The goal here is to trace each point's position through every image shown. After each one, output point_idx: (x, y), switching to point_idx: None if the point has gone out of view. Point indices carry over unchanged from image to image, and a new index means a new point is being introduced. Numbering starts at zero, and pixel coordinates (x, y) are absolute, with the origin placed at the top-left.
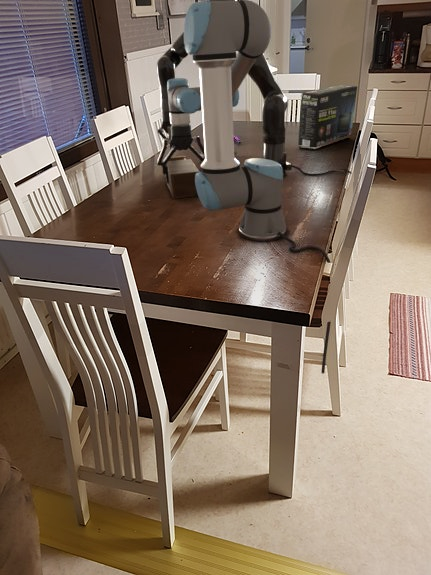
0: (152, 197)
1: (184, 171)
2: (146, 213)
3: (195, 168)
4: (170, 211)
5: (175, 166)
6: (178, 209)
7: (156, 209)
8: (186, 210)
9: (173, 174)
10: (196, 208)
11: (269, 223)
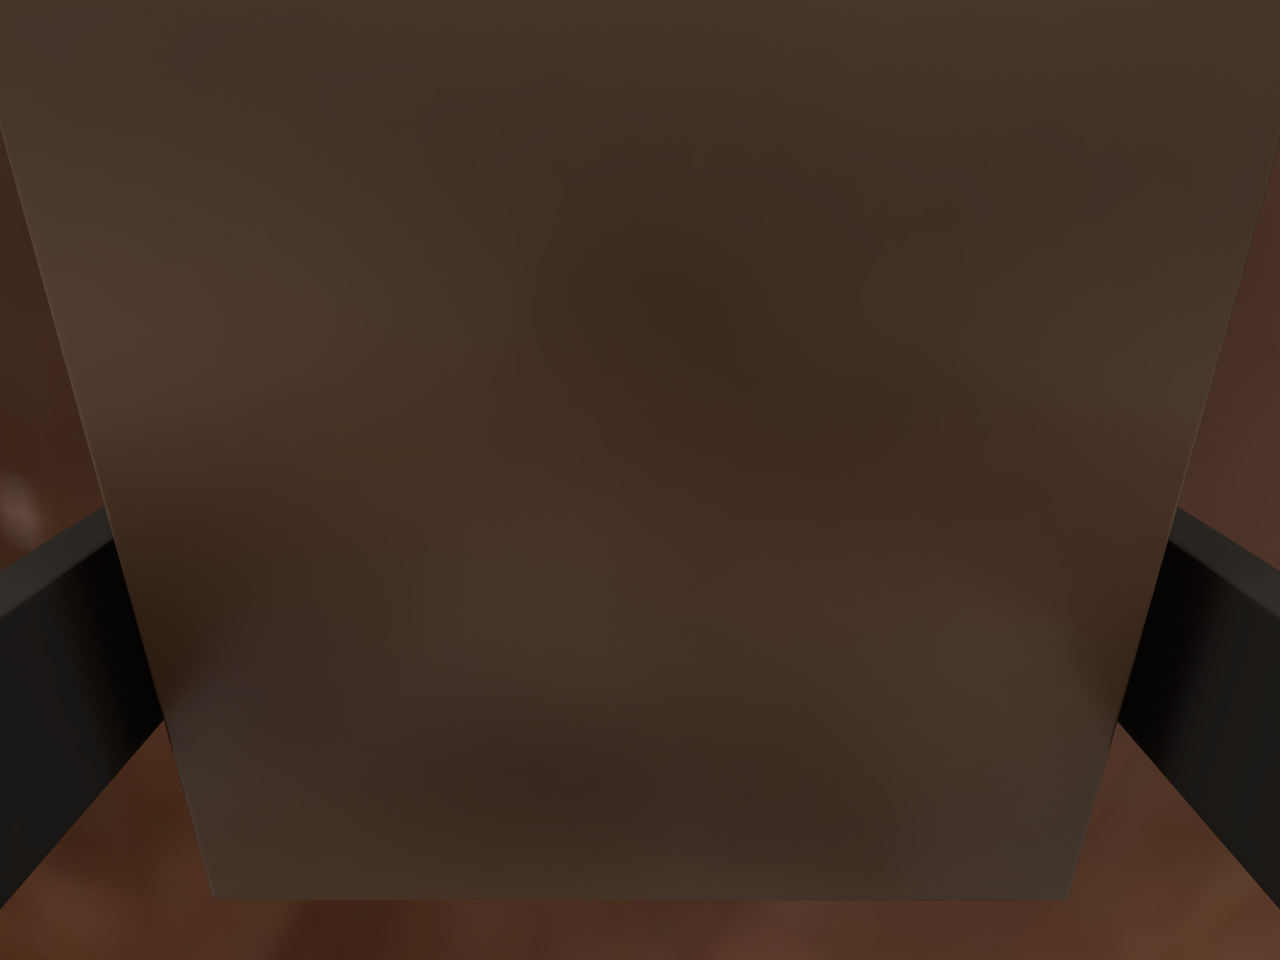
0: (49, 383)
1: (639, 791)
2: (70, 911)
3: (1087, 612)
4: (364, 929)
5: (354, 25)
6: (464, 904)
7: (182, 839)
8: (555, 949)
9: (285, 888)
10: (682, 930)
11: None
